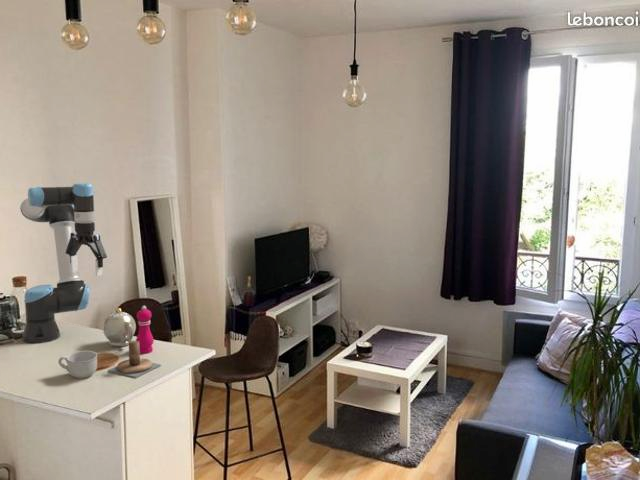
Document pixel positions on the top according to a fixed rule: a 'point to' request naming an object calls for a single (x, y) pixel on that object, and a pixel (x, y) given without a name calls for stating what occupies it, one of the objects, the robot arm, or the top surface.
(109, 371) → the mat
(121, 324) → the teapot
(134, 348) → the lid
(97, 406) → the top surface
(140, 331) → the pepper mill
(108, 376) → the top surface
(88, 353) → the teacup
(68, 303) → the robot arm
